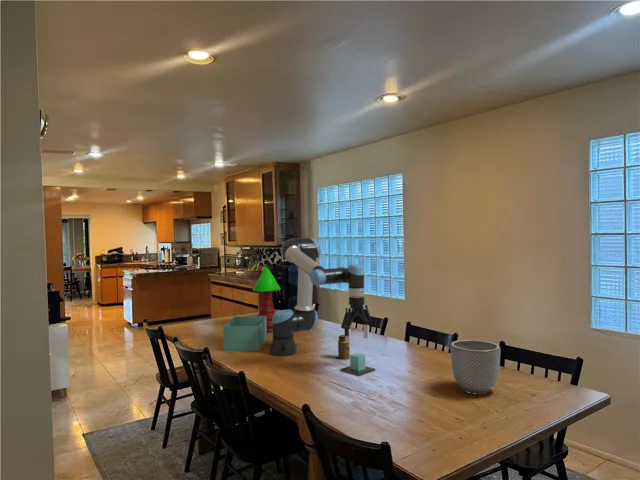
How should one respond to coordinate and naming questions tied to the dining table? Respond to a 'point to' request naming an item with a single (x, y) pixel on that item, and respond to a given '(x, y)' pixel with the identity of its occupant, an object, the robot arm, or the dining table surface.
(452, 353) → the planter
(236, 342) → the box
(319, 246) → the robot arm
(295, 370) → the dining table surface
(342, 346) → the condiment
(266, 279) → the table lamp
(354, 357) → the teal block
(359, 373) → the grey square plate
